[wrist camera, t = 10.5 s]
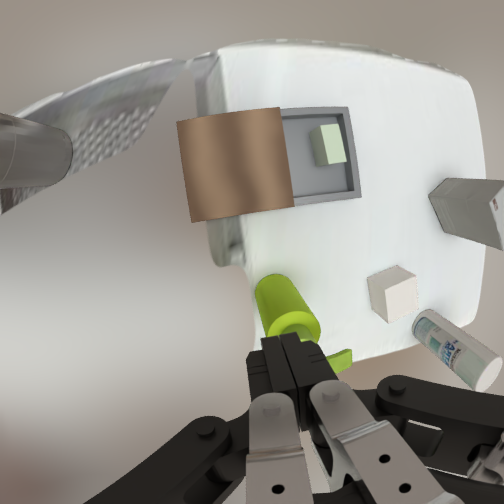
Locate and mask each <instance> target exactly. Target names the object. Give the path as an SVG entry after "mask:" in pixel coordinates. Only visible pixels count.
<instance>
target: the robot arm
mask: <svg viewBox="0 0 504 504" xmlns="http://www.w3.org/2000/svg"><path fill="white" fill-rule="evenodd" d="M71 159H72V144H71V141H70V138H69V137H68V135H67V134H66V133H65V132H64V131H62V130H60V129H56V128H53V127H50V126H47V125H43V124H40V123H36V122H33V121H29V120H26V119H22V118H18V117H14V116H11V115H6V114H2V113H0V189H3V188H17V187H37V186H51V185H54V184H56V183H57V182H59V181H60V180H61V179H62V178H63V177H64V176H65V174H66V173H67V171H68V169H69V166H70V163H71ZM261 345H262V350H258V351H252V352H250V353H249V355H248V357H247V359H246V364H247V372H248V380H249V387H250V395H251V404H250V407H249V409H248V410H247V411H246V412H245V413H244V414H243V415H242V416H240V417H238V418H236V419H234V420H231V421H228V422H226V421H224V420H223V419H221V418H219V417H215V416H204V417H200V418H197V419H195V420H193V421H192V422H190V423H189V424H188V425H187V426H186V427H184V428H183V429H182V430H181V431H180V432H179V433H177V434H176V435H175V436H174V437H173V438H171V439H170V440H169V441H168V442H167V443H165V444H164V445H163V446H162V447H161V448H159V449H158V450H157V451H156V452H154V453H153V454H152V455H150V456H149V457H148V458H147V459H145V460H144V461H143V462H141V463H140V464H139V465H138V466H136V467H135V468H134V469H132V470H131V471H130V472H128V473H127V474H126V475H124V476H123V477H121V478H120V479H119V480H117V481H116V482H115V483H113V484H112V485H110V486H109V487H107V488H106V489H105V490H103V491H102V492H100V493H99V494H97V495H96V496H94V497H93V498H91V499H90V500H88V501H87V502H85V503H84V504H222V503H223V501H225V500H226V498H227V497H228V496H229V495H230V494H231V493H232V492H233V491H234V489H236V487H237V486H238V485H239V484H240V483H241V482H242V480H243V478H244V476H246V504H504V396H500V395H494V394H488V393H482V392H477V391H471V390H466V389H461V388H456V387H451V386H446V385H441V384H437V383H432V382H428V381H424V380H420V379H416V378H411V377H407V376H403V375H392V376H388V377H386V378H384V379H383V380H381V381H380V382H379V384H378V386H377V389H371V390H354V389H351V387H350V386H349V385H348V384H347V383H345V382H343V381H339V379H338V378H337V376H336V374H335V372H334V371H333V369H332V367H331V365H330V364H329V362H328V360H327V359H326V357H325V355H324V354H323V352H322V350H321V348H320V346H319V345H318V344H316V343H314V342H313V341H311V340H309V341H304V342H301V340H300V338H299V336H298V334H297V332H291V333H286V334H280V335H279V337H278V335H276V336H270V337H265V338H261ZM409 420H413V421H417V422H420V423H424V424H428V425H432V426H435V427H439V428H441V429H442V430H436V429H432V428H428V427H424V426H420V425H417V424H413V423H410V422H408V421H409ZM299 425H300V427H299ZM300 428H301V431H302V432H303V431H306V430H309V432H310V435H311V446H312V448H313V450H314V453H315V455H316V457H317V459H318V461H319V464H320V466H321V468H322V470H323V472H324V474H325V476H326V479H327V481H328V483H329V487H330V493H316V494H312V491H311V485H310V480H309V475H308V470H307V464H306V459H305V454H304V450H303V448H302V447H301V441H300V436H299V432H300ZM425 466H428V467H431V468H435V469H439V470H443V471H447V472H451V473H456V474H460V475H465V476H467V477H468V478H464V477H460V476H456V475H452V474H448V473H445V472H441V471H438V470H434V469H429V468H426V467H425Z"/></svg>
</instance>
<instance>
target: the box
mask: <svg viewBox="0 0 504 504" xmlns="http://www.w3.org/2000/svg"><path fill="white" fill-rule="evenodd" d="M280 112H281V118H282V124H283V130H284V136H285V142H286V149H287V155H288V162H289V168H290V175H291V182H292V190H293V197H294V205H295V206H297V205H305V204H312V203H320V202H328V201H336V200H344V199H353V198H361V197H362V196H361V187H360V178H359V171H358V163H357V156H356V149H355V143H354V137H353V131H352V125H351V120H350V115H349V110H348V107H305V108H288V109H280ZM330 124H339V129H340V133H341V137H342V142H343V146H344V151H345V156H346V161H347V162H342V163H337V164H332V165H325V166H319V167H316V162H315V157H314V153H313V148H312V143H311V139H310V135H309V132H311V131H312V130H314V129H316V128H317V127H319V126H320V125H330Z"/></svg>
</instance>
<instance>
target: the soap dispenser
mask: <svg viewBox="0 0 504 504" xmlns="http://www.w3.org/2000/svg"><path fill="white" fill-rule="evenodd" d="M255 297H256V301H257V305H258V309H259V313H260V316H261V320H262V324H263V327H264V331H265V335H266V337H270V336H276V335H278V337H279V335H280V334H286V333H291V332H297V334H298V336H299V338H300V340H301V342H304V341H309V340H311V341H313V342H314V343H316V344H317V342H318V341H319V338H320V333H321V329H320V325H319V322H318V320H317V319H316V317H315V316H314V315H313V313H312V312H311V310H310V309H309V307H308V306H307V304H306V303H305V301H304V300H303V298H302V297H301V295H300V294H299V292H298V291H297V289H296V288H295V287H294V285H293V284H292V282H291V281H290V280H289V279H288V278H287V277H285V276H283V275H279V274H273V275H269V276H267V277H265V278H263V279H262V280H261V281H260V282H259V283H258V285H257V287H256V291H255ZM326 359H327V360H328V362H329V364H330V365H331V367H332V369H333V371H334V372H335V374H336V373H338V372H341V371H343V370H345V369H347V368H348V367H350V366H351V365H352V350H351V349H344V350H342V351H340V352H338V353H335V354H333V355H330V356H327V357H326Z"/></svg>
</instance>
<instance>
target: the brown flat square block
mask: <svg viewBox="0 0 504 504" xmlns="http://www.w3.org/2000/svg"><path fill="white" fill-rule="evenodd" d="M177 130H178V138H179V145H180V153H181V159H182V166H183V173H184V180H185V186H186V192H187V199H188V205H189V210H190V216H191V222H192V223H193V222H199V221H205V220H211V219H217V218H223V217H229V216H235V215H242V214H248V213H254V212H261V211H268V210H274V209H281V208H288V207H295V205H294V197H293V190H292V182H291V175H290V168H289V162H288V155H287V149H286V142H285V136H284V130H283V124H282V118H281V112H280V107H275V108H264V109H254V110H245V111H237V112H230V113H223V114H216V115H210V116H204V117H199V118H193V119H188V120H183V121H178V122H177Z"/></svg>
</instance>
